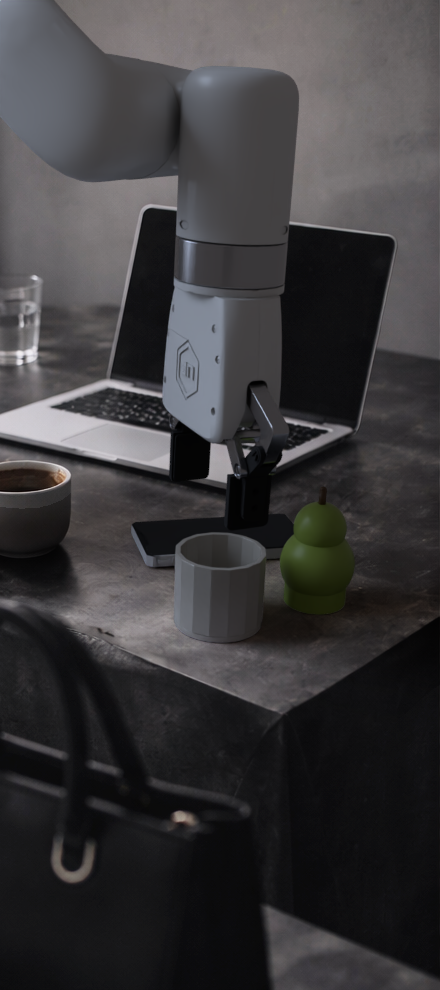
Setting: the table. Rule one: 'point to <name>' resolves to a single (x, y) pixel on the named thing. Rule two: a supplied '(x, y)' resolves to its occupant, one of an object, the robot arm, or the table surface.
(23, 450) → the table surface
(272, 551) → the smartphone
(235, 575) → the grey faceted cup
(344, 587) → the pear
